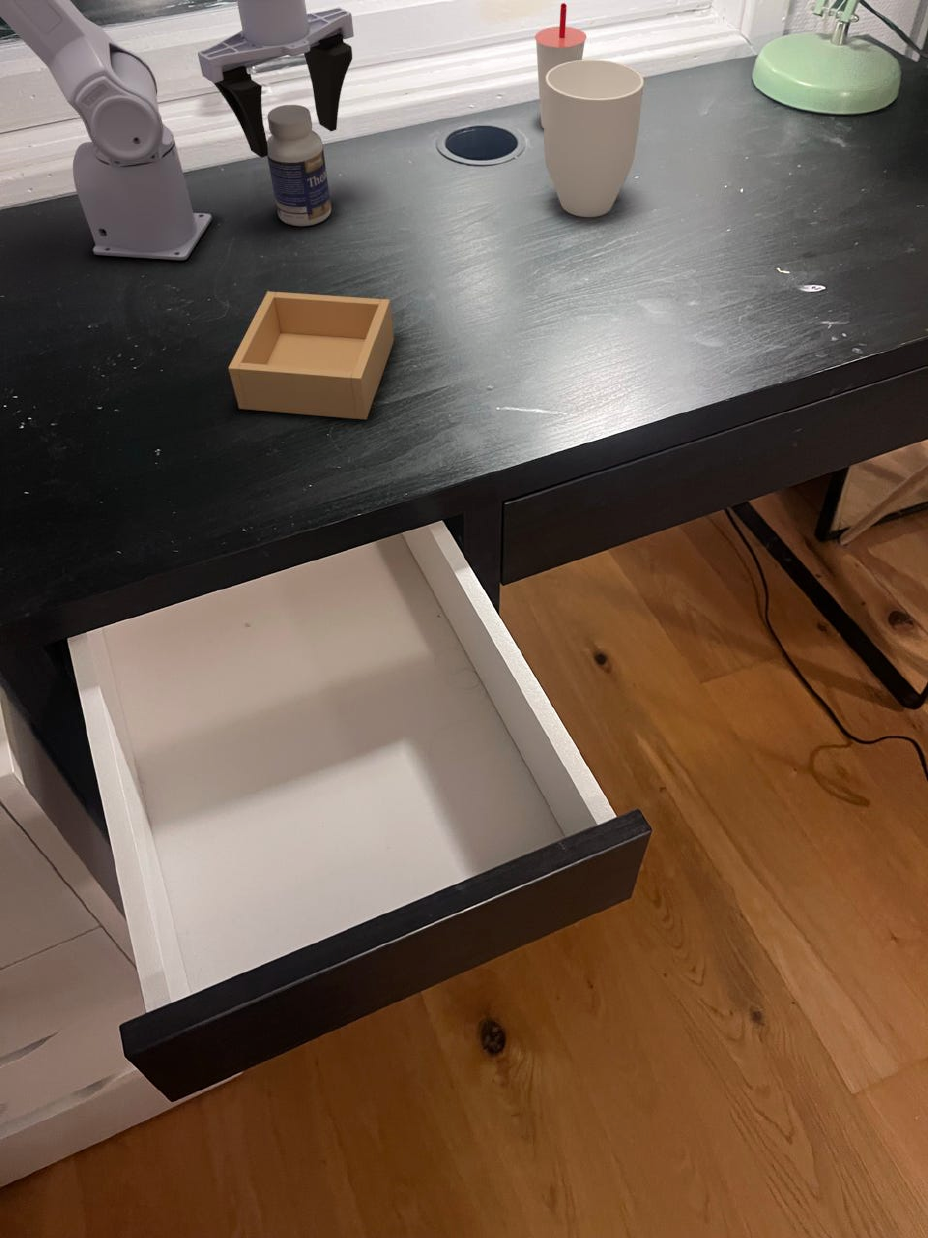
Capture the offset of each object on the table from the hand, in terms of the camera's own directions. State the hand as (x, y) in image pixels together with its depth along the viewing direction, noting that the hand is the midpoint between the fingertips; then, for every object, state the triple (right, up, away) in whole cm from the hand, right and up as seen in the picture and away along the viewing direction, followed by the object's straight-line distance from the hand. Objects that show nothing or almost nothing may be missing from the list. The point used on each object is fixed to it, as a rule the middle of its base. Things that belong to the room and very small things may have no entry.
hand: (294, 139), depth 90 cm
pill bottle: (0, -5, +6) cm, 8 cm away
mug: (+28, -3, +6) cm, 29 cm away
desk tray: (+4, -25, -11) cm, 27 cm away
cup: (+26, +10, +17) cm, 33 cm away
